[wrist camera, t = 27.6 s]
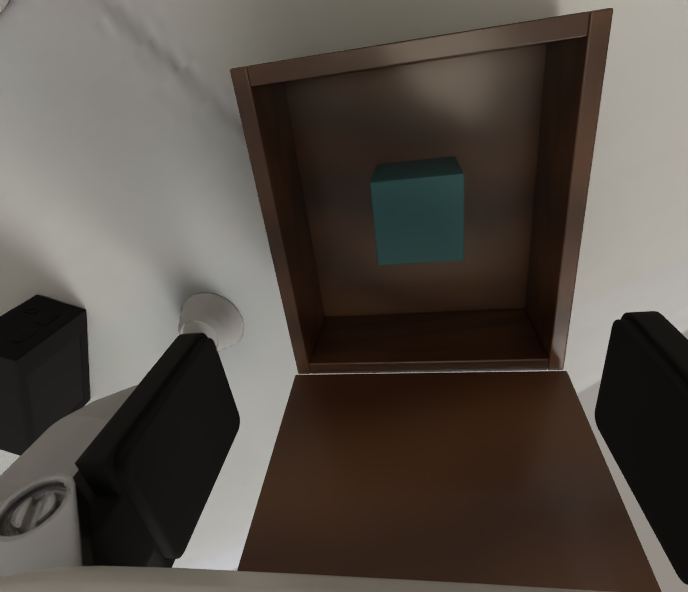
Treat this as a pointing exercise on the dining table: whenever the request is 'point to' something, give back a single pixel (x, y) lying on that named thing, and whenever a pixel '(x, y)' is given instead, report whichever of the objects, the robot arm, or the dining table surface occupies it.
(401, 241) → the block
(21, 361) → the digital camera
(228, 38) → the dining table surface
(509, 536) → the box lid
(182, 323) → the chalice
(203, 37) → the dining table surface
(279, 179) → the box
